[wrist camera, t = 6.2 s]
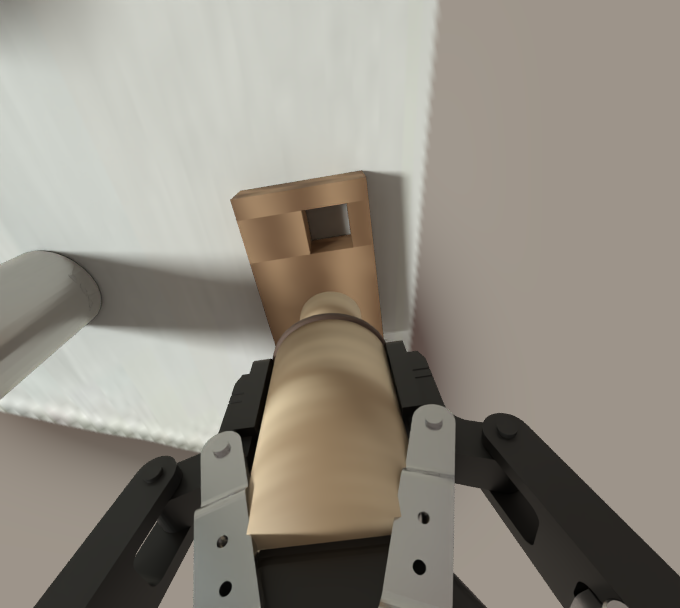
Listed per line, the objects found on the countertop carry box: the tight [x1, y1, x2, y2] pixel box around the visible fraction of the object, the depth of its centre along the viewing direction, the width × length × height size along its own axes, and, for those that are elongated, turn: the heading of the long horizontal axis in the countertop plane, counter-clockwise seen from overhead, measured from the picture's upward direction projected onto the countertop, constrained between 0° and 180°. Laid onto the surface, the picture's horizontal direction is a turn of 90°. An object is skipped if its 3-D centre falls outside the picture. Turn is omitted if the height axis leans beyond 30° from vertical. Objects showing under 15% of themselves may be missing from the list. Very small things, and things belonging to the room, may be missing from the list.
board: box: [230, 170, 383, 346], centre depth 35 cm, size 12×18×4 cm, turn 9°
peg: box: [246, 292, 409, 553], centre depth 13 cm, size 5×5×11 cm
